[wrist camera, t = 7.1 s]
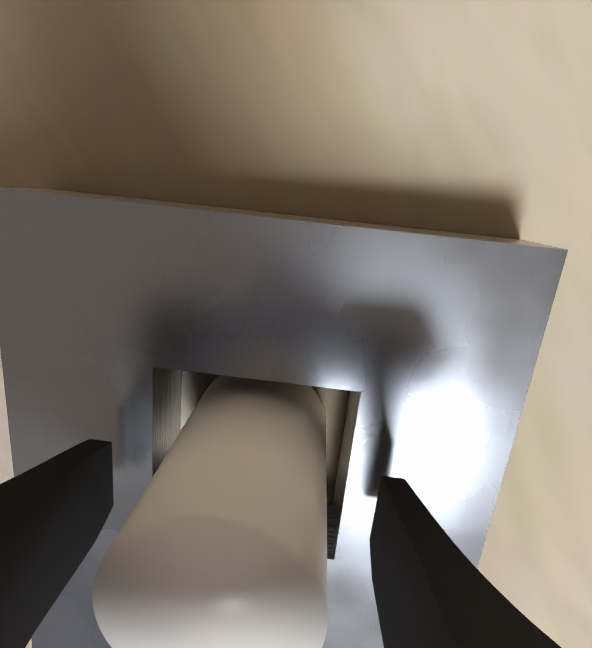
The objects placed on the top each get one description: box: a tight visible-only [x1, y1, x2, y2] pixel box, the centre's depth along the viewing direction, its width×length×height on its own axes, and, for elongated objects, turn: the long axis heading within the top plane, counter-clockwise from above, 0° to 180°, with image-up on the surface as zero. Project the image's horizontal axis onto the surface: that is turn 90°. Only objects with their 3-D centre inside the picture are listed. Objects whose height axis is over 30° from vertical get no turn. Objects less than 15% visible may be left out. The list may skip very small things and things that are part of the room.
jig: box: [0, 187, 568, 648], centre depth 14 cm, size 18×14×2 cm
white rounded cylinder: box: [92, 375, 328, 648], centre depth 11 cm, size 4×4×7 cm
